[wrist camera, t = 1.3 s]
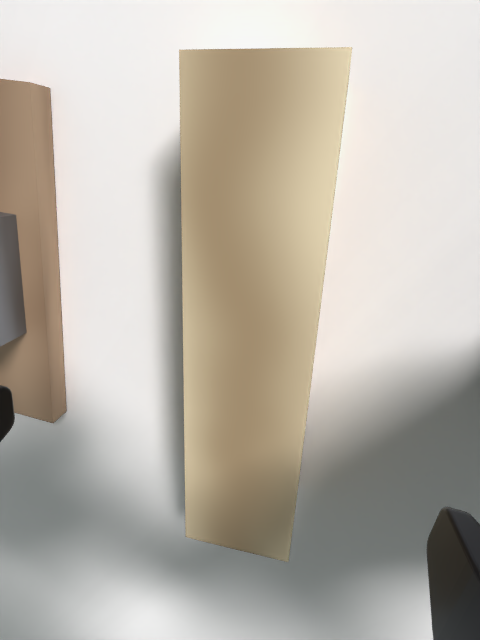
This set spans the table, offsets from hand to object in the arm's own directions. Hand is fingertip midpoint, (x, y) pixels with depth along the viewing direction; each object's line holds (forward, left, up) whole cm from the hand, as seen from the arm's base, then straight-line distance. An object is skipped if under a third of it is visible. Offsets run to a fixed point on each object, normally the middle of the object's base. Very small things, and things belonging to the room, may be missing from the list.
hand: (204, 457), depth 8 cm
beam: (0, 0, -8) cm, 8 cm away
